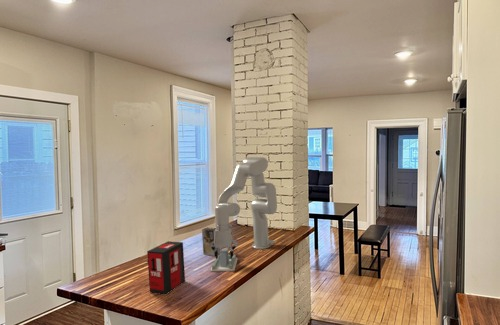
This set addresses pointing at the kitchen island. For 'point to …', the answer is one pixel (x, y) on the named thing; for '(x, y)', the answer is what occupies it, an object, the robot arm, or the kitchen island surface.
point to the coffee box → (208, 241)
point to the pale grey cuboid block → (224, 257)
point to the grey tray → (229, 267)
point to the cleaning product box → (166, 267)
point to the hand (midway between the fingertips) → (224, 257)
